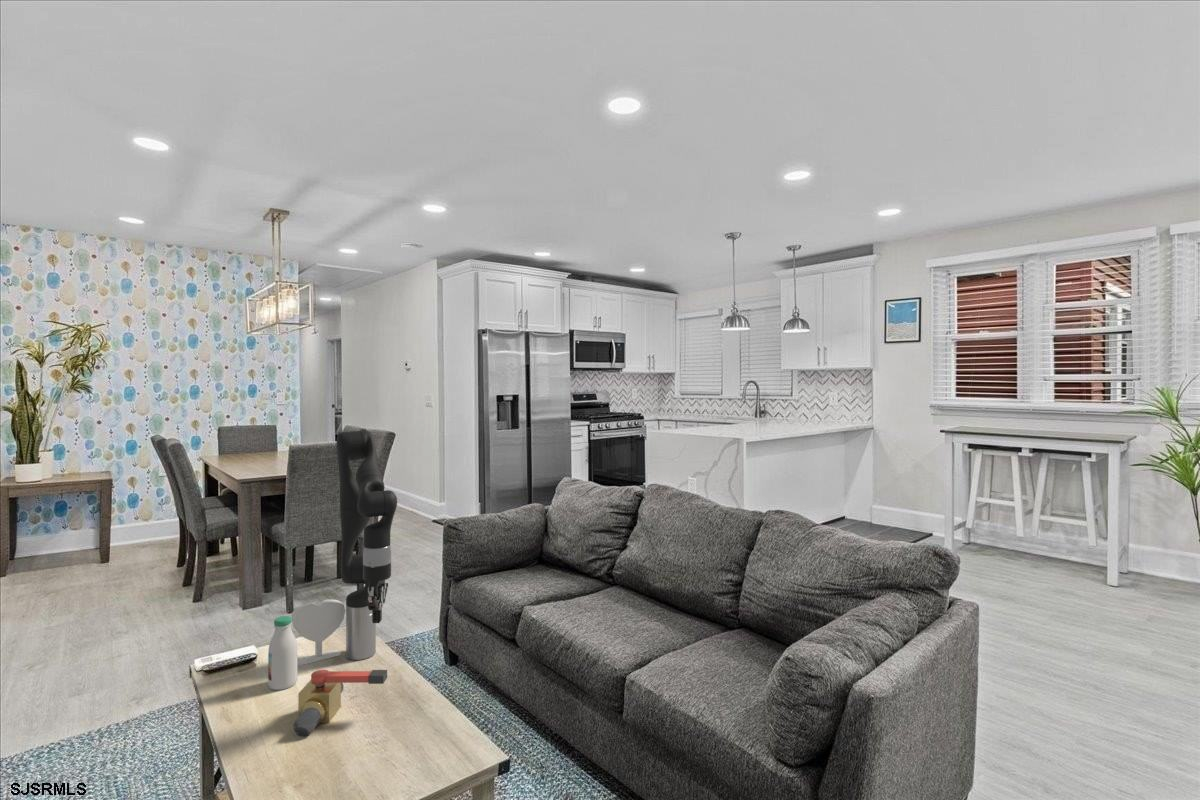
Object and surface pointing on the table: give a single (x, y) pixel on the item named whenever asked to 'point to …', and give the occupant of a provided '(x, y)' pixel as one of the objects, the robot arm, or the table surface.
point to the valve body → (317, 706)
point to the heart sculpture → (318, 625)
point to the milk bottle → (282, 655)
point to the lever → (349, 677)
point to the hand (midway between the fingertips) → (376, 622)
